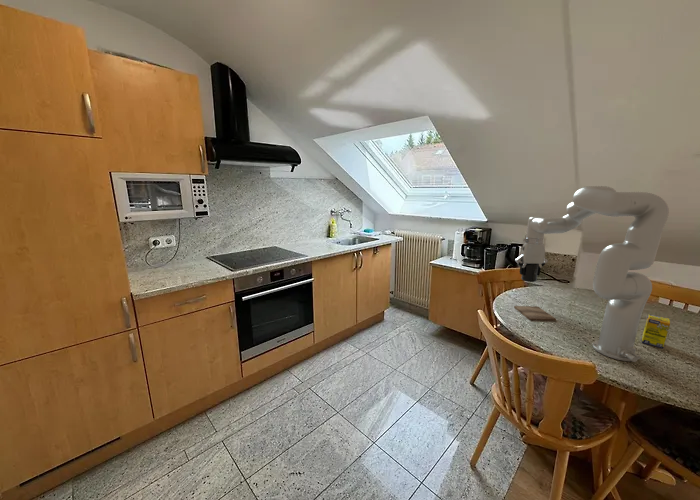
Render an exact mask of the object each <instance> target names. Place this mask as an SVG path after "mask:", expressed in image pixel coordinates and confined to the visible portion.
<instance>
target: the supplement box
mask: <svg viewBox="0 0 700 500" xmlns="http://www.w3.org/2000/svg"><path fill="white" fill-rule="evenodd" d="M670 326H671V321H670V318H665V317H662V316H657V315H653V314H649V313H648V314H647V318H646V321H645V325H644V329H643V333H642V335H641V344H644V345H649V346H653V347H656V348H658V349H662V350H663V349H664V347H665V343H666V340H667V337H668V334H669V330H670Z"/></svg>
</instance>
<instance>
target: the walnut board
mask: <svg viewBox="0 0 700 500" xmlns="http://www.w3.org/2000/svg"><path fill="white" fill-rule="evenodd" d="M513 308H514V309H515V310H516V311H518V312H519V313H520V314H521V315H523V316H524V318H526V319H527V320H529V321H542V322H543V321H544V322H547V321H548V322H549V321H551V322H556V321H557V318H556V317H554V316H553V315H551V314H550V313H548V312H547V311H545V310H544V309H543V308H541V307H540V306H534V305H532V306H531V305H530V306H529V305H526V306H525V305H514V307H513Z"/></svg>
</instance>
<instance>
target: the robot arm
mask: <svg viewBox="0 0 700 500" xmlns="http://www.w3.org/2000/svg"><path fill="white" fill-rule="evenodd" d="M669 209H670V208H669V206H668V203H667V201H665V199H663V198H662V197H661V196H659V195H657V194H654V193H651V192H647V191H646V192H644V191H616V190H615V189H614V188H612V187H610V186H606V185H604V186H603V185H598V186H597V185H588V186H583V187H581V188H578V190H576V191H575V192H574V194H573V195H572V201H571V202H570V203H568V204H567V205H566V209H565V210H566V215H564V216H561V217H544V216H530V217H529V218H528V219H527V227H526V234H525V238H523V239H522V241H523V242H524V243H523V245H522V248H521V251H520V255H519V256H518V257H517V258H515V259H514V261H515V262H516V263H517V265H518V266H519V274H520V275H521V276H522V275H525V268H524V267H525V266H526V264H538V274H537V277H538V276H540V274H541V270H542V268H543V267H544V266H545V265H546V264H547V263H548V261H549V259H547V258H546V247H545V244H544V238H545V235H546V234H547V235H551V234H565V233H567V232H569V231H572V230H574V229H575V228H577V227H579V226H580V225H582V223H583V221H584V219H587V218H588V217H590V216H592V215H594V214H598V215H602V216H607V217H634V220H633V221H632V222H631V223H630V224H629V225H628V227H627V230H626V234H625V237H624V240H623V242H621V243H617V242H616V243H612V244H609V245H607V246H606V247H603V249H602V250H601V251H600V253H599V255H598V258H597V262H596V265H595V267H596V268H595V272H594V275H593V279H592V289H593V291H594V293H595V295H597V296H598V297H599V298H600V299H602V300H603V299H604V300H608V301H607V303H606V306H605V310H604V315H603V319H602V323H601V328H600V332H599V333H600V334H599V337H598V340H594V341H592V343H591V346H592V348H593V350H595V351H596V352H598V353H599V354H601V355H603V356H605V357H609V358H611V359H615V360H618V361H623V362H635V363H636V362H637V361H638V360H641V358H642V356H641V355H639V354H638V353H636V351H637V350H636V349H637V348H636V347H635V346H634V345H635V342H636V338H637V334H638V330H639V325H640V322H641V319H642V316H643V315H642V314H643V311H644V309H645V306H646V304H647V301H648V300H649V298H650V296H651V294H652V291H653V283H652V281H651V280H650V278H649V277H648V276H646V275H645V274H643V273H640V272H636V271H638V270H645V269H649V268H650V267H652V265H653V264H654V262H655V259H656V257H657V253H658V250H659V247H660V244H661V238H662V235H663V232H664V229H665V226H666V224H667V221H668V218H669V213H670V210H669Z"/></svg>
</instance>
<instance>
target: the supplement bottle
mask: <svg viewBox="0 0 700 500" xmlns="http://www.w3.org/2000/svg"><path fill="white" fill-rule="evenodd" d="M524 268H525V275H521V278H520V279H521V280H522V281H523V282H530V283H535V282H537V280H538V275H537V274H538V264H526V266H525V267H524Z"/></svg>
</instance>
